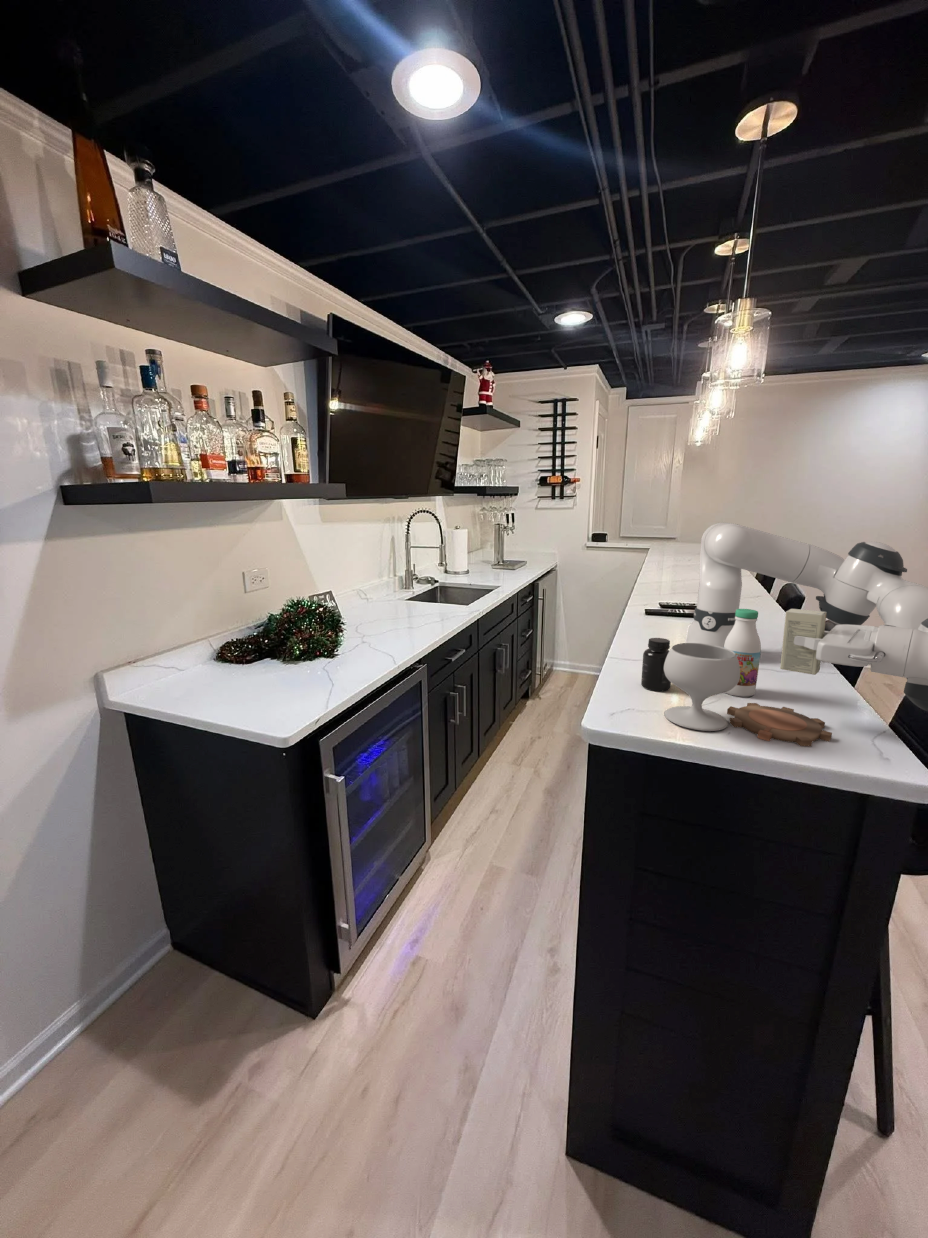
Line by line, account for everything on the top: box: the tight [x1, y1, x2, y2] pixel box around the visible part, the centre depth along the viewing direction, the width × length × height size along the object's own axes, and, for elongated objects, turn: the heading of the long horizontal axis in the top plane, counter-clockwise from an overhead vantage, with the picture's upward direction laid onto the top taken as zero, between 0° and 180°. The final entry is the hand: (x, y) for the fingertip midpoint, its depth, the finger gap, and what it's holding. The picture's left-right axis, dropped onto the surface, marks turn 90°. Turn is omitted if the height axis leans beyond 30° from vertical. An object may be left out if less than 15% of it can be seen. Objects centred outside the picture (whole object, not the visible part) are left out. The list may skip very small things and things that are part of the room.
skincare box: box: [779, 608, 827, 676], centre depth 100 cm, size 6×4×12 cm
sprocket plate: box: [726, 702, 833, 747], centre depth 100 cm, size 18×18×1 cm
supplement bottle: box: [640, 637, 672, 692], centre depth 121 cm, size 7×7×12 cm
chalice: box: [663, 642, 740, 732], centre depth 101 cm, size 14×14×15 cm
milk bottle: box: [723, 608, 762, 698], centre depth 117 cm, size 8×8×20 cm
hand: (798, 636), depth 100 cm, fingers closed on skincare box, 4 cm apart
